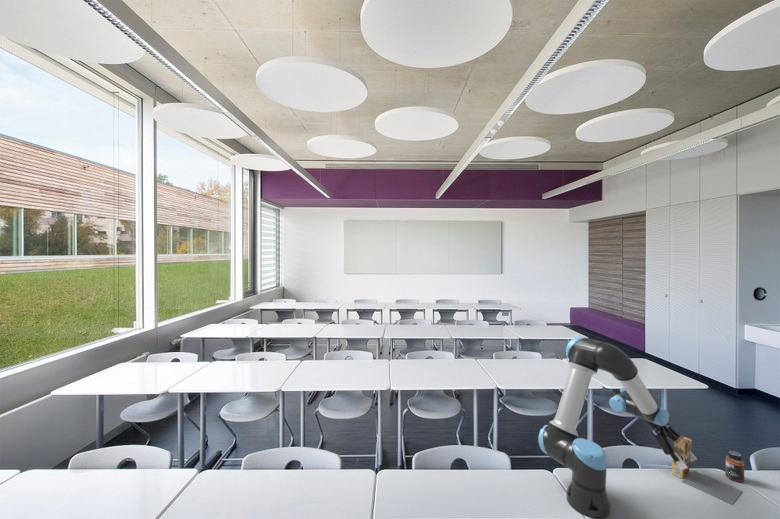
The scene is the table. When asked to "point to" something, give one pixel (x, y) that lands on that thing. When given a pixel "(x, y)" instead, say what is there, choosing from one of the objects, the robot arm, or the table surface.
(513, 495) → the table surface
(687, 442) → the candy box
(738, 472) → the supplement bottle
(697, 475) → the felt pad
